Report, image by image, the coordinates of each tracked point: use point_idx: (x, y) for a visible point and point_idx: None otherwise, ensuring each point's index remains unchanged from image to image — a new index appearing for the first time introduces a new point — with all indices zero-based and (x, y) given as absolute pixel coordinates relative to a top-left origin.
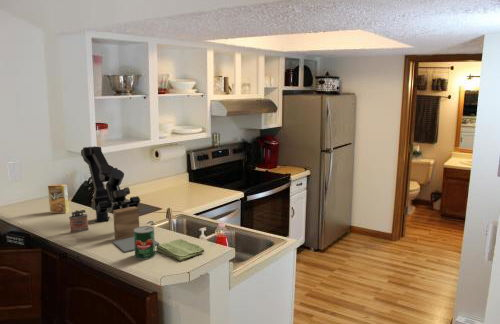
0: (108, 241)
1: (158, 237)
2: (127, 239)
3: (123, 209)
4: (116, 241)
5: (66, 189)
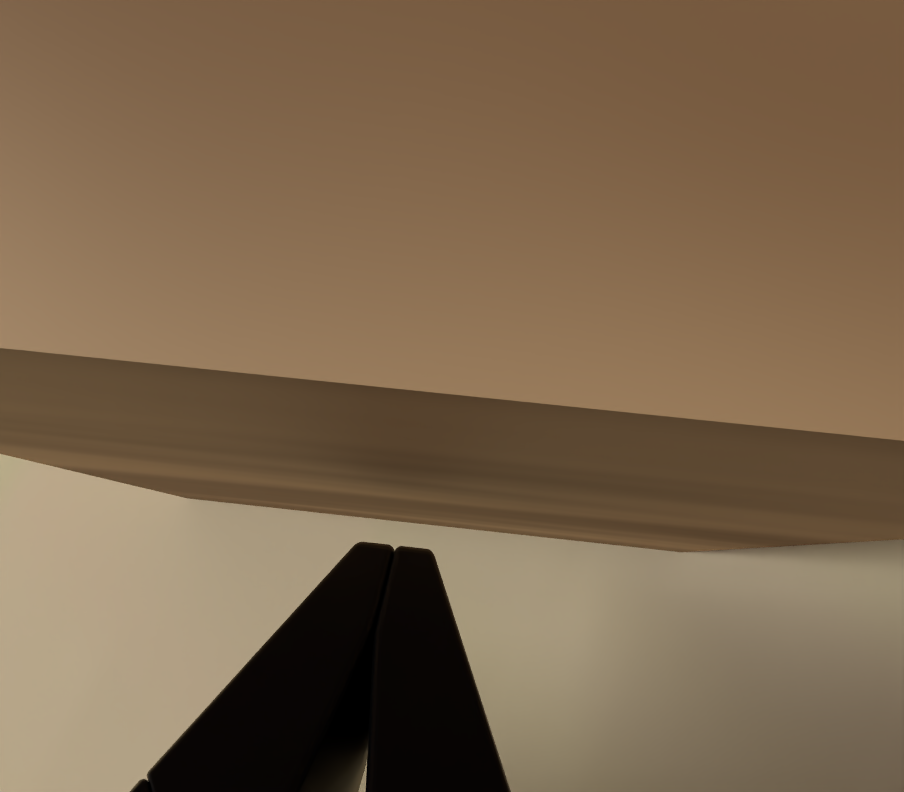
0: None
1: None
2: None
3: (537, 61)
4: None
5: None
